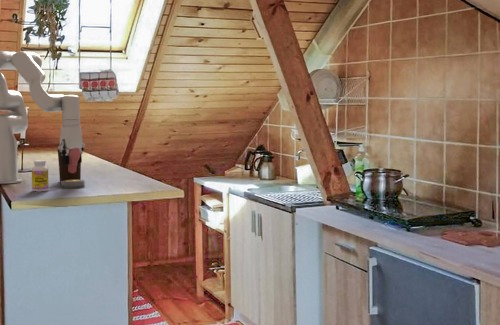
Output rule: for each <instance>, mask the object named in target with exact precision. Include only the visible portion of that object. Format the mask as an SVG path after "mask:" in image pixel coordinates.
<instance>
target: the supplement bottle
mask: <svg viewBox="0 0 500 325" xmlns="http://www.w3.org/2000/svg"><path fill="white" fill-rule="evenodd" d="M46 163H47V162H46V160H44V159H36V160H34V161H33V164H34V166H33V167H31V189H32V192H35V191H36V193H38V192H39V193H41V192H42V191H43V192H47V191H49V168H48V166H46Z"/></svg>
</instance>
